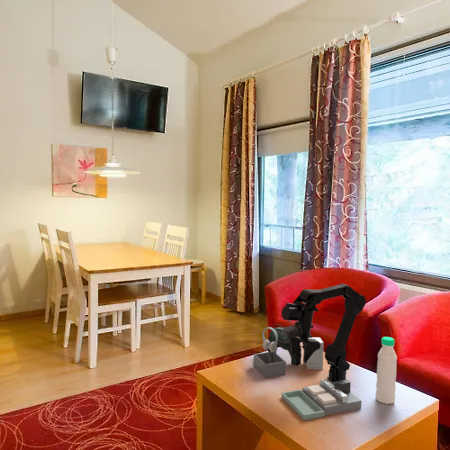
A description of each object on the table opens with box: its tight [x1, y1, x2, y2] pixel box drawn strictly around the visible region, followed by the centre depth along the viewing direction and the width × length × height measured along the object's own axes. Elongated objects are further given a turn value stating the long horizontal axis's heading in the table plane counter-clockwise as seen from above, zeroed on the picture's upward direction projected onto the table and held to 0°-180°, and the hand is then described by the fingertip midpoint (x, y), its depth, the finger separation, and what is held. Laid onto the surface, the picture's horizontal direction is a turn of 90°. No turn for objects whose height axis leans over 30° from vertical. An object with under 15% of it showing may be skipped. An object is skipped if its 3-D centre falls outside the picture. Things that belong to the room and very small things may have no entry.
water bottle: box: [375, 336, 398, 405], centre depth 157 cm, size 7×7×25 cm
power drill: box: [267, 320, 303, 367], centre depth 194 cm, size 20×6×20 cm, turn 43°
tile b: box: [317, 393, 336, 404], centre depth 152 cm, size 5×5×1 cm
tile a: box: [306, 384, 325, 395], centre depth 158 cm, size 5×5×1 cm
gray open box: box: [253, 351, 287, 379], centre depth 183 cm, size 10×12×6 cm
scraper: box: [319, 378, 351, 403], centre depth 158 cm, size 8×15×4 cm, turn 20°
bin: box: [281, 389, 326, 421], centre depth 153 cm, size 8×17×2 cm, turn 20°
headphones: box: [261, 326, 278, 364], centre depth 182 cm, size 8×4×20 cm, turn 46°
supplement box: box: [304, 337, 325, 370], centre depth 188 cm, size 7×7×13 cm
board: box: [301, 382, 362, 416], centre depth 157 cm, size 16×16×3 cm
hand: (298, 358), depth 165 cm, fingers open, 9 cm apart
